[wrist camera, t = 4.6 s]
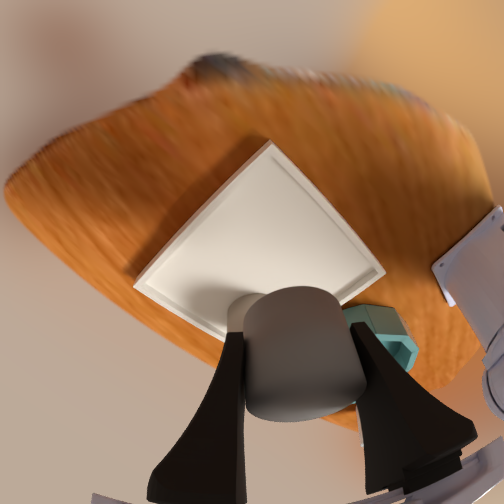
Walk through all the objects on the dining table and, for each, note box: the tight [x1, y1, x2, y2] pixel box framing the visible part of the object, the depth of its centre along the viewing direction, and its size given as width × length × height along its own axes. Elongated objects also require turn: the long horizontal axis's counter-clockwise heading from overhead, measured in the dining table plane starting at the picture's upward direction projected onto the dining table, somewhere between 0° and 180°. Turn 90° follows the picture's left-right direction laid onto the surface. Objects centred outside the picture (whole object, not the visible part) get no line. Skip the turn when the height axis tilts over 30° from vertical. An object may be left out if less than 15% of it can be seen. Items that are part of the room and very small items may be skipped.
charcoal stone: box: [243, 286, 367, 422], centre depth 11 cm, size 5×5×4 cm
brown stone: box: [227, 293, 267, 333], centre depth 21 cm, size 5×5×4 cm
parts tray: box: [133, 140, 386, 343], centre depth 20 cm, size 14×13×1 cm
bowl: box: [342, 304, 419, 404], centre depth 26 cm, size 14×14×4 cm
